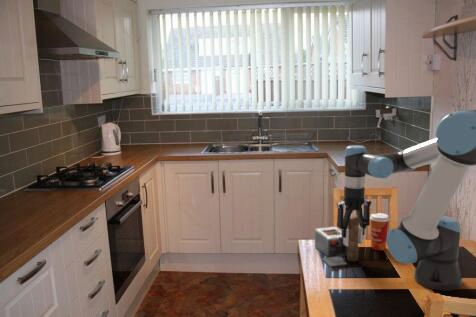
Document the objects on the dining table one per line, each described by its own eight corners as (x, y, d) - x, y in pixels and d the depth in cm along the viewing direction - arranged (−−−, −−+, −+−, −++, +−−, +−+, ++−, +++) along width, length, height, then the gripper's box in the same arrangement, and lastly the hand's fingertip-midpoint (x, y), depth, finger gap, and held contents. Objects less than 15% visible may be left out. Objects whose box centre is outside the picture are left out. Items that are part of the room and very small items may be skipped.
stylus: (354, 256, 175) (355, 215, 171) (359, 260, 171) (360, 218, 168) (345, 257, 174) (346, 216, 170) (350, 261, 170) (351, 219, 167)
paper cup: (365, 245, 185) (366, 213, 183) (380, 243, 188) (382, 211, 185) (376, 252, 178) (377, 219, 175) (392, 250, 180) (393, 217, 178)
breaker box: (315, 246, 185) (315, 228, 184) (334, 244, 188) (334, 226, 186) (327, 257, 174) (328, 238, 172) (348, 255, 176) (348, 236, 175)
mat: (338, 257, 174) (338, 256, 174) (346, 264, 167) (346, 263, 167) (321, 259, 172) (322, 258, 172) (330, 267, 166) (330, 265, 165)
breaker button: (324, 242, 182) (324, 235, 181) (333, 241, 183) (333, 234, 182) (328, 246, 178) (329, 239, 177) (338, 245, 179) (339, 238, 178)
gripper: (370, 182, 173) (368, 238, 177) (327, 185, 168) (326, 243, 172) (381, 186, 165) (379, 244, 170) (337, 190, 161) (335, 250, 165)
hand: (352, 244), depth 171 cm, fingers open, 5 cm apart
